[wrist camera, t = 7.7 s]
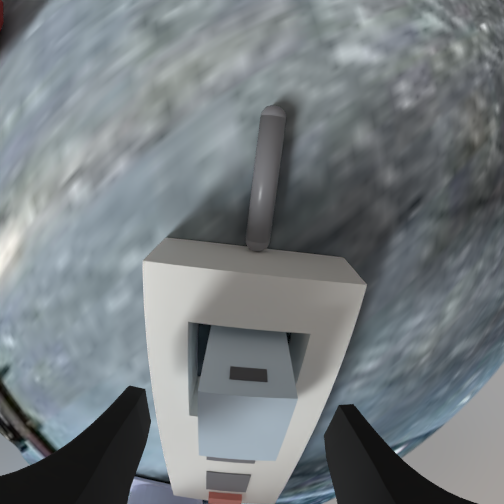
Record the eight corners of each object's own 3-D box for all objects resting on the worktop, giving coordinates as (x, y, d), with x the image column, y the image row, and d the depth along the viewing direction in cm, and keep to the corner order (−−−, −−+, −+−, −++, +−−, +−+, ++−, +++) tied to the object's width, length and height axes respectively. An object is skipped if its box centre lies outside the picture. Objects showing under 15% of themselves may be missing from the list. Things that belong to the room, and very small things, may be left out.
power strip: (272, 476, 19) (274, 509, 16) (178, 467, 19) (172, 501, 15) (365, 125, 11) (405, 117, 7) (177, 100, 11) (149, 79, 7)
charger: (268, 368, 15) (275, 460, 9) (213, 363, 15) (198, 455, 9) (280, 304, 14) (298, 397, 8) (217, 298, 13) (197, 390, 8)
